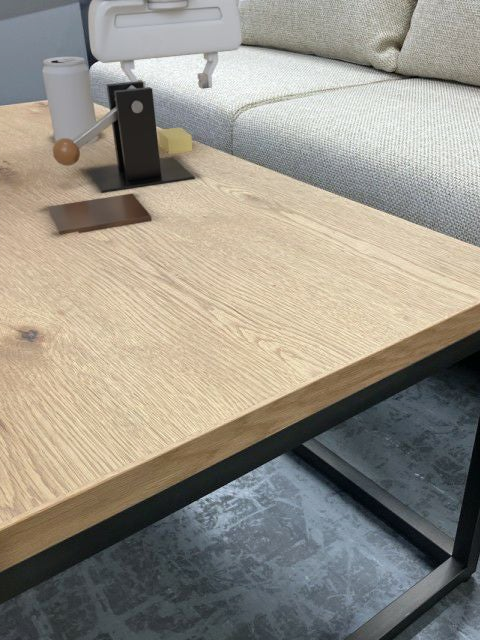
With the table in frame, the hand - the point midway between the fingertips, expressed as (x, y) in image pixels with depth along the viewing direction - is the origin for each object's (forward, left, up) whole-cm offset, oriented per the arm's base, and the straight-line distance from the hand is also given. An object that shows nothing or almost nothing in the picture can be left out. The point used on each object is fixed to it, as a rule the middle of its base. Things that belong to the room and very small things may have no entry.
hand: (173, 91), depth 97 cm
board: (-16, -22, -9) cm, 29 cm away
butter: (0, 0, -9) cm, 9 cm away
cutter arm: (-12, -10, -3) cm, 16 cm away
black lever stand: (-8, -10, -9) cm, 15 cm away
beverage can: (-12, +11, -9) cm, 19 cm away
